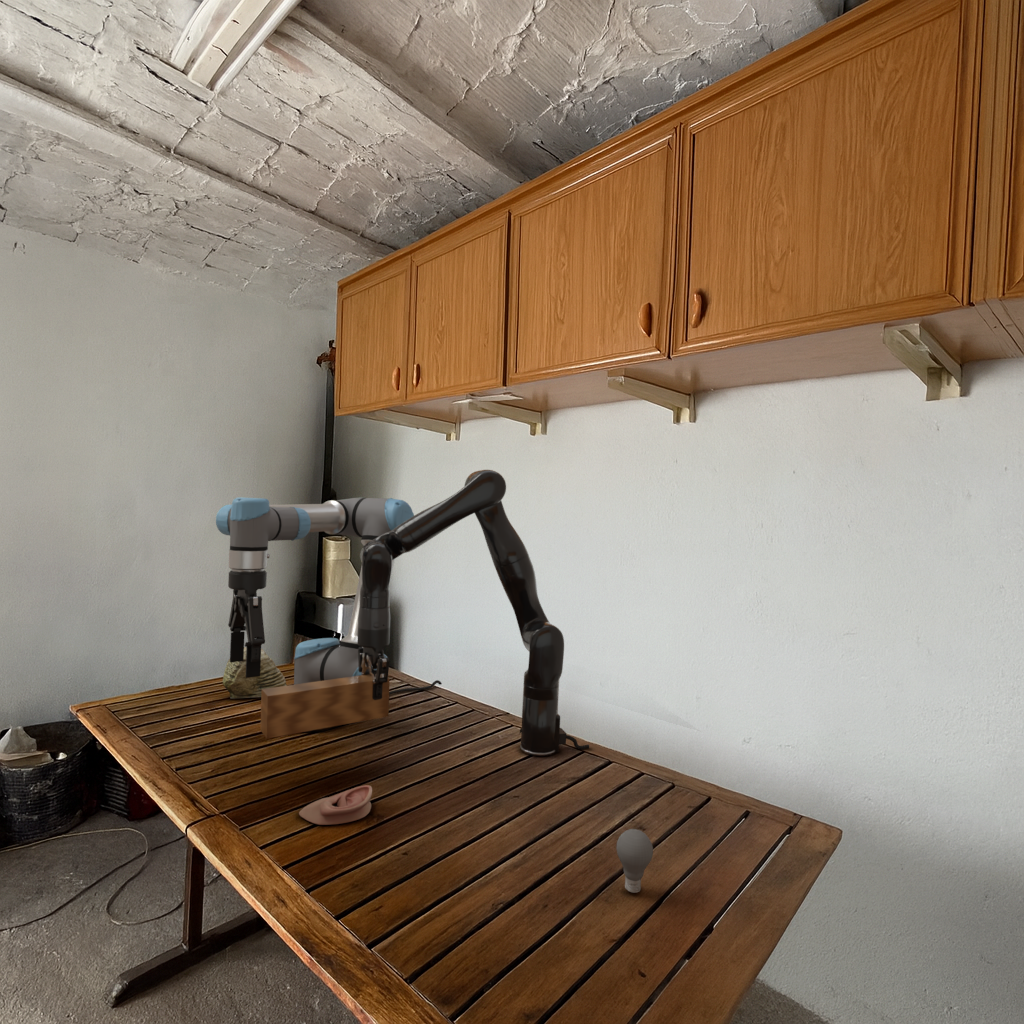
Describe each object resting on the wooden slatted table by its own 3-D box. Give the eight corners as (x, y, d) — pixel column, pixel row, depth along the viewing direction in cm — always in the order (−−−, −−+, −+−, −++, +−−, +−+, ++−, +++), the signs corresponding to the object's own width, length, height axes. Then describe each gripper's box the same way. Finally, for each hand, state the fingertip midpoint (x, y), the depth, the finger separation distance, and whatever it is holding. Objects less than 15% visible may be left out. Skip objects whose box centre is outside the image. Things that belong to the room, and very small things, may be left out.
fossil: (218, 695, 195) (220, 647, 195) (278, 685, 208) (279, 640, 207) (228, 703, 189) (230, 653, 188) (289, 692, 201) (290, 645, 201)
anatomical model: (291, 800, 123) (320, 775, 134) (290, 820, 123) (320, 794, 134) (354, 810, 120) (379, 784, 132) (353, 830, 121) (378, 803, 132)
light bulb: (610, 879, 108) (613, 822, 108) (644, 879, 109) (647, 822, 109) (619, 902, 102) (622, 840, 102) (655, 901, 103) (658, 840, 103)
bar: (266, 738, 135) (267, 696, 135) (260, 730, 140) (261, 689, 139) (388, 716, 151) (389, 678, 151) (379, 709, 155) (380, 672, 155)
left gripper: (283, 576, 127) (279, 681, 128) (251, 563, 147) (247, 653, 148) (244, 577, 123) (240, 686, 123) (216, 564, 143) (212, 657, 143)
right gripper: (401, 629, 147) (399, 701, 147) (377, 618, 159) (375, 685, 159) (370, 632, 143) (368, 706, 143) (348, 621, 155) (346, 689, 155)
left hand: (244, 668), depth 136 cm, fingers open, 13 cm apart
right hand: (372, 695), depth 151 cm, fingers closed on bar, 5 cm apart
